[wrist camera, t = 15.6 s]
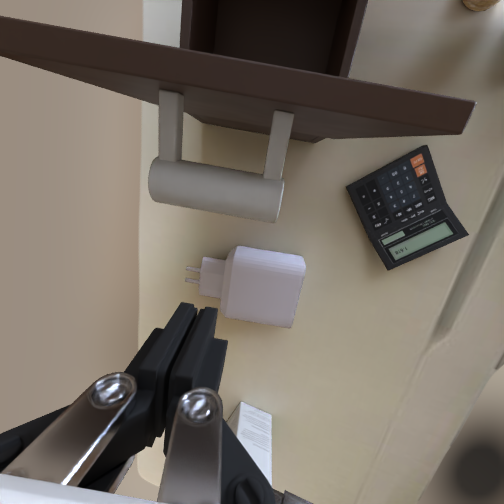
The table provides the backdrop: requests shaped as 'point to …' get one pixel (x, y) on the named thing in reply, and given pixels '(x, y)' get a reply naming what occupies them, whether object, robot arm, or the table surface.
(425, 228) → the calculator
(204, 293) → the charger
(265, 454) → the cosmetic box
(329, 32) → the dark wooden planter box
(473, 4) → the sprinkles bottle
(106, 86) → the lid
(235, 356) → the table surface
